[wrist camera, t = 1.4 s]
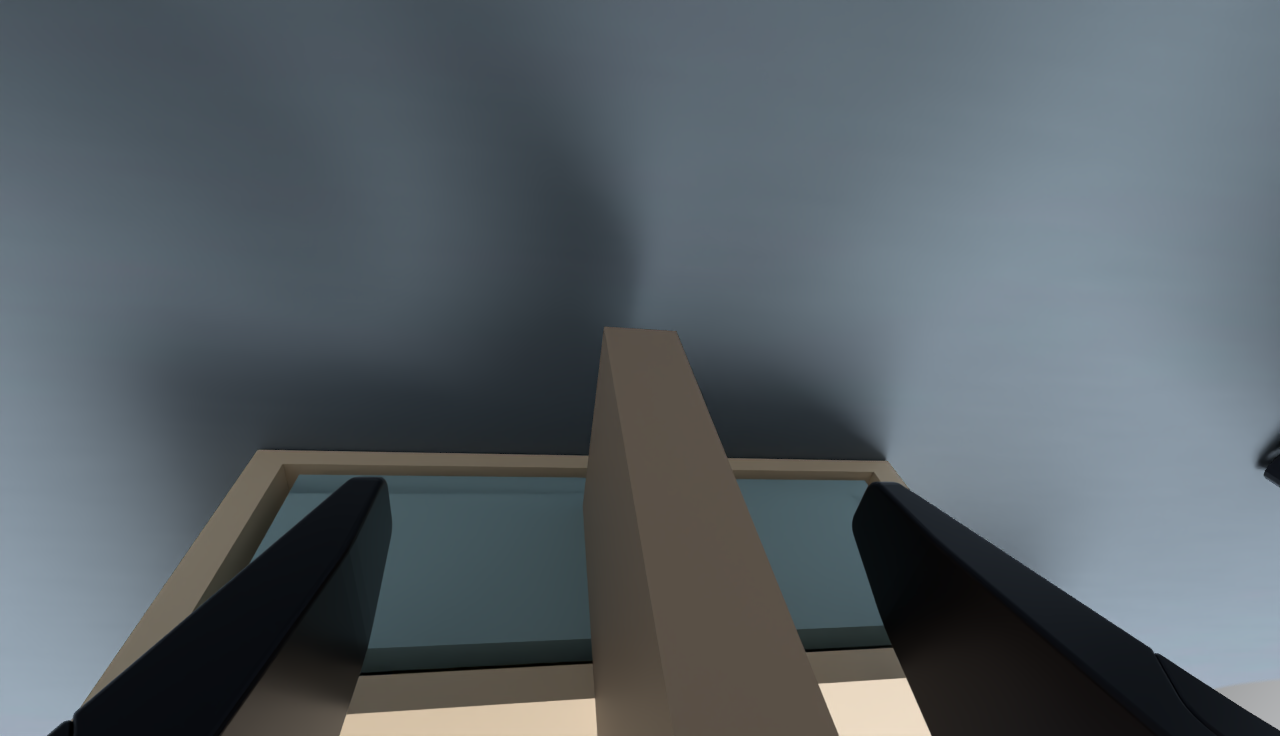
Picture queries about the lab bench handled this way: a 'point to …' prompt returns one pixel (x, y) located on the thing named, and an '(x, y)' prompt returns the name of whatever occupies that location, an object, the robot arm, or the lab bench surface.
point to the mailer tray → (628, 567)
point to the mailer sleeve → (493, 698)
